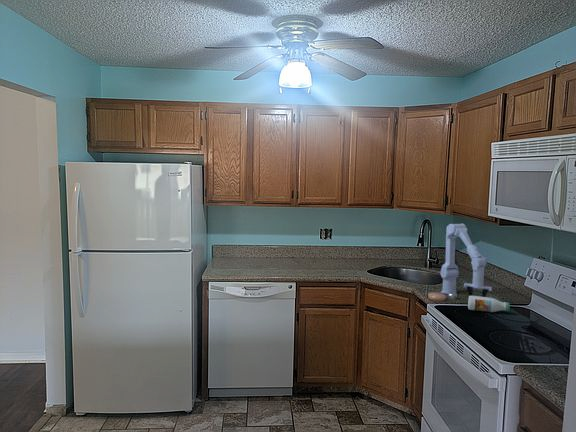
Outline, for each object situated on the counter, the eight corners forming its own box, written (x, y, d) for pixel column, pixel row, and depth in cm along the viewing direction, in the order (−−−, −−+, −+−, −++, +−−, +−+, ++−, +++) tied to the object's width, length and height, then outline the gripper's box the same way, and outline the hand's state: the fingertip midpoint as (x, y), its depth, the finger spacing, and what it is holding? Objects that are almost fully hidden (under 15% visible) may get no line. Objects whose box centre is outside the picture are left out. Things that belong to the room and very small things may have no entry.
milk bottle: (469, 293, 231) (510, 297, 225) (467, 298, 237) (507, 302, 231) (469, 307, 227) (510, 311, 221) (467, 311, 234) (508, 316, 228)
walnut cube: (472, 301, 247) (473, 293, 246) (482, 303, 244) (482, 294, 243) (471, 303, 243) (471, 295, 242) (480, 305, 240) (480, 296, 239)
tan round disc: (430, 295, 258) (431, 291, 258) (447, 298, 253) (448, 294, 252) (425, 299, 250) (426, 295, 250) (443, 302, 244) (443, 298, 244)
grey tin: (449, 296, 256) (449, 291, 256) (457, 298, 254) (457, 293, 253) (446, 298, 252) (447, 293, 252) (455, 300, 250) (455, 295, 249)
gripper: (463, 277, 243) (461, 300, 244) (490, 281, 234) (489, 305, 236) (466, 274, 248) (464, 297, 250) (493, 278, 240) (491, 302, 242)
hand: (476, 301), depth 243 cm, fingers open, 6 cm apart
